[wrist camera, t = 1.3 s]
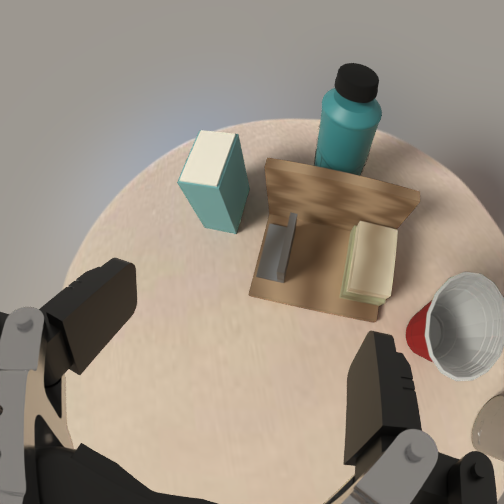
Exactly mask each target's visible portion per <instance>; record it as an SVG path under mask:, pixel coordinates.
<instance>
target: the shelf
mask: <svg viewBox="0 0 504 504" xmlns="http://www.w3.org/2000/svg"><path fill="white" fill-rule="evenodd" d="M265 177H266V186H267V196H268V206H269V217H268V221H267V225H266V229H265V233H264V237H263V241H262V245H261V249H260V252H259V256H258V260H257V264H256V268H255V272H254V276H253V279H252V283H251V287H250V291H249V296H252V297H256V298H261V299H265V300H269V301H274V302H278V303H282V304H287V305H291V306H296V307H301V308H305V309H310V310H314V311H319V312H324V313H329V314H334V315H338V316H343V317H348V318H353V319H359V320H364V321H369V322H376V320H377V314H378V308H379V306H380V305H382V304H384V303H385V301H386V299H387V298H389V297H391V291H392V283H393V275H394V266H395V257H396V246H397V233H398V230H396V229H397V228H398V227H399V226H400V225H401V224H402V223H403V221H404V220H405V219H406V218H407V217H408V216H409V214H410V213H411V212H412V211H413V210H414V209H415V207H416V206H417V205H418V204H419V203H420V192H419V191H416V190H412V189H409V188H405V187H402V186H398V185H394V184H390V183H387V182H383V181H379V180H375V179H371V178H367V177H363V176H358V175H354V174H350V173H345V172H341V171H336V170H332V169H327V168H322V167H317V166H312V165H307V164H302V163H296V162H291V161H285V160H279V159H273V158H267V160H266V164H265Z"/></svg>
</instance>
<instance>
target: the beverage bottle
mask: <svg viewBox="0 0 504 504" xmlns="http://www.w3.org/2000/svg"><path fill="white" fill-rule="evenodd" d="M378 83H379V79H378V76H377V75H376V73H375V72H374V71H373V70H372V69H370V68H368V67H366V66H364V65H361V64H356V63H349V64H344V65H343V66H341V67H340V69H339V70H338V73H337V77H336V80H335V88H334V89H331V90H330V91H328V92H327V93H326V94H325V95H324V97H323V100H322V114H321V122H320V125H319V126H320V129H319V128H318V129H319V135H318V139H317V140H318V143H317V149H316V151H317V152H316V153H315V159H316V160H315V162H314V166H317V167H322V168H327V169H332V170H336V171H341V172H345V173H350V174H354V175H358V176H360V175H361V172H362V169H363V167H364V166H365V165H364V164H365V161H366V159H367V156H368V157H369V155H368V153H369V151H370V147H371V144H372V141H373V138H374V135H375V132H376V129H377V126H378V123H379V122H380V120H381V116H382V111H381V107H380V105H379V103H378V102H377V100H376V99H375V98H376V96H377V92H378ZM369 154H370V153H369ZM367 160H368V159H367ZM363 170H364V169H363ZM361 176H362V175H361Z"/></svg>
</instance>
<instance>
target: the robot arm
mask: <svg viewBox="0 0 504 504" xmlns="http://www.w3.org/2000/svg"><path fill="white" fill-rule="evenodd" d="M136 306H137V286H136V268H135V265H134V264H133V263H130V262H127V261H124V260H121V259H118V258H112V259H111V260H109V261H108V262H107V263H105V264H104V265H103V266H102V267H97V268H95V269H92V270H90V271H87V272H85V273H84V274H83V275H81V276H80V277H79V278H77V279H76V281H74V282H72V283H71V284H70V285H69V287H66V288H65V289H63V290H62V291H61V292H60V293H58V294H57V295H56V296H55V297H54V298H52V299H51V300H50V301H49V302H48V303H46V304H45V305H44V306H43V307H41V308H40V309H37V308H34V307H23V308H20V309H17V310H15V311H14V312H12V313H11V314H6V313H2V312H0V504H217V503H214V502H210V501H207V500H204V499H198V498H189V497H182V496H175V495H169V494H163V493H158V492H154V491H152V490H150V489H149V488H147V487H146V486H145V485H143V484H142V483H141V482H139V481H138V480H137V479H135V478H134V477H133V476H132V475H130V474H129V473H128V472H127V471H125V470H124V469H123V468H122V467H121V466H119V465H118V464H117V463H116V462H114V461H112V460H110V459H108V458H106V457H105V456H103V455H101V454H99V453H97V452H96V451H94V450H92V449H91V448H89V447H87V446H86V445H84V444H82V443H81V444H80V445H79V447H78V448H77V450H75V449H74V447H73V443H72V439H71V436H70V433H69V430H68V426H67V414H66V377H65V372H66V371H67V370H68V369H70V370H72V371H73V372H75V373H77V374H78V375H81V374H82V372H83V371H84V370H85V369H86V368H87V367H88V365H89V364H90V363H91V362H92V361H93V360H94V358H95V357H96V356H97V355H98V354H99V353H100V351H101V350H102V349H103V348H104V347H105V346H106V345H107V343H108V342H109V341H110V340H111V339H112V338H113V337H114V335H115V334H116V333H117V332H118V331H119V330H120V329H121V328H122V326H123V325H124V324H125V323H126V322H127V321H128V320H129V319H130V317H131V316H132V315H133V313H134V311H135V309H136ZM412 379H413V376H412V372H411V367H410V364H409V363H408V361H407V360H406V358H405V357H404V355H403V354H402V353H398V352H396V348H395V343H394V338H393V336H392V335H389V334H384V333H379V332H375V331H369V333H368V334H367V336H366V337H365V339H364V341H363V343H362V345H361V347H360V349H359V351H358V353H357V354H356V356H355V358H354V360H353V362H352V364H351V366H350V369H349V372H348V377H347V410H346V434H345V451H344V465H353V466H355V474H354V475H353V476H352V477H351V478H350V479H349V480H348V481H347V482H346V483H345V484H344V485H343V486H342V487H341V488H340V489H339V490H338V491H336V492H335V493H334V494H333V495H332V496H331V497H330V498H329V499H328V500H327V501H326V502H324V503H323V504H497V495H496V485H495V476H494V469H493V465H492V463H491V461H490V459H489V458H488V457H487V456H486V455H485V454H487V455H489V456H491V457H494V458H496V459H499V460H501V461H504V396H502V395H500V396H496V397H494V398H492V399H491V400H490V401H488V402H487V403H486V404H485V406H484V407H483V408H482V409H481V411H480V412H479V414H478V416H477V418H476V421H475V423H474V426H473V430H472V443H473V446H474V447H475V449H476V450H478V451H479V452H478V451H472V452H469V453H468V454H466V455H465V456H464V457H463V458H461V459H456V458H453V457H451V456H448V455H445V454H442V453H439V452H438V449H437V446H436V444H435V442H434V440H433V439H432V438H431V437H430V436H429V435H428V434H427V433H425V432H423V431H422V428H421V421H420V415H419V409H418V403H417V397H416V392H415V391H414V390H415V386H414V381H412ZM481 452H482V453H481ZM483 453H484V454H483Z"/></svg>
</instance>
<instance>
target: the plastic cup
mask: <svg viewBox="0 0 504 504" xmlns="http://www.w3.org/2000/svg"><path fill="white" fill-rule="evenodd" d="M406 340H407V344H408V346H409V347H410V349H411V350H412V351H413V352H414V353H416V354H417V355H419V356H421V357H423V358H425V359H427V360H429V361H431V362H433V363H434V364H435V365H436V366H437V368H438V369H439V371H440V372H441V373H442V374H444V375H446V376H447V377H449V378H451V379H453V380H455V381H470V380H474V379H476V378H478V377H479V376H481V375H483V374H485V373H486V372H488V371H489V370H490V368H491V367H492V366H493V365H494V364H495V362H496V361H497V360H498V358H499V357H500V355H501V353H502V350H503V347H504V298H503V296H502V294H501V293H500V291H499V289H498V288H497V286H496V285H495V283H494V282H492V281H491V280H489V279H488V278H486V277H485V276H484V275H482V274H480V273H472V272H463V273H461V274H458V275H456V276H453V277H451V278H449V279H448V280H447V281H446V282H445V283H444V284H443V285H442V287H441V288H440V289H439V290H438V291H437V292H436V293H435V295H434V298H433V300H432V301H431V302H429V303H428V304H427V305H426V306H424V307H423V308H422V309H421V310H420V311H419V312H418V313H417V314H416V315H415V316H414V317H413V318H412V319H411V320H410V322H409V324H408V326H407V329H406Z"/></svg>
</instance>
